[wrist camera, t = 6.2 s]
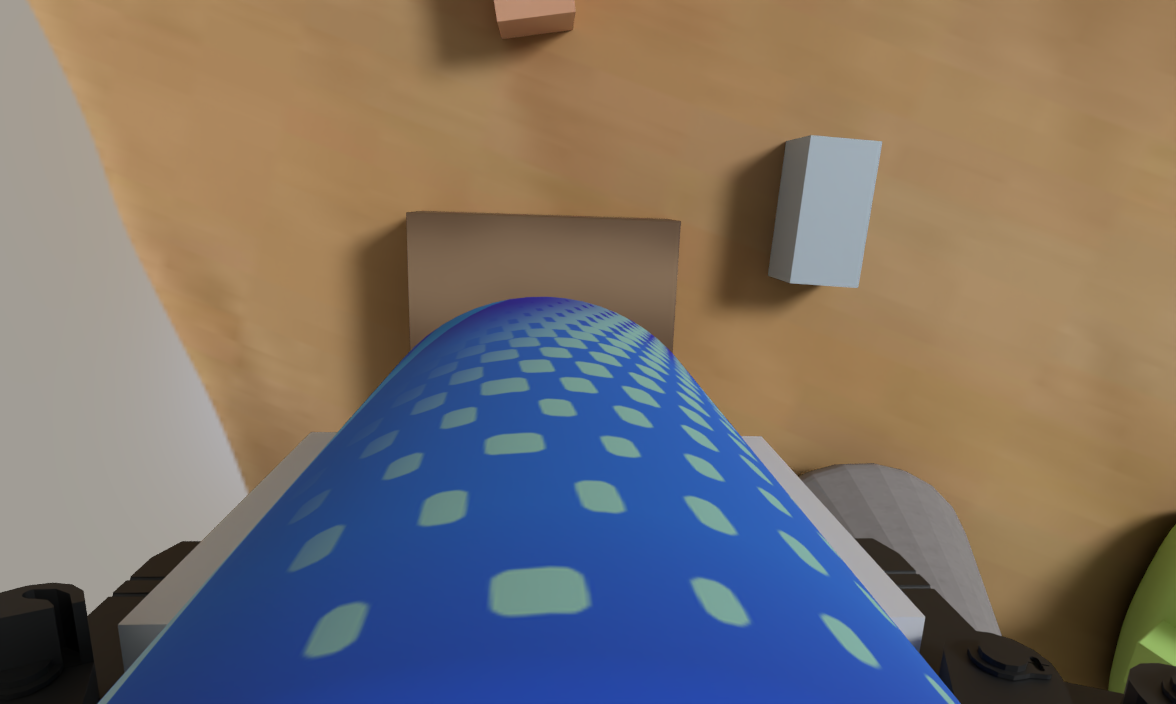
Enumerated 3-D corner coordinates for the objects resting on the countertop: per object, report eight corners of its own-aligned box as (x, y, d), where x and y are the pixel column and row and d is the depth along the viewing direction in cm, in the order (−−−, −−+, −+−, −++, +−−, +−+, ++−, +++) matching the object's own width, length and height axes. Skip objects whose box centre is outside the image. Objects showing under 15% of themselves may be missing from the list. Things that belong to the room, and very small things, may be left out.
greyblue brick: (784, 141, 30) (811, 135, 27) (849, 147, 30) (882, 141, 27) (766, 275, 31) (789, 283, 28) (828, 279, 31) (858, 287, 28)
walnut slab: (420, 210, 29) (406, 212, 26) (667, 218, 30) (680, 221, 27) (425, 446, 32) (413, 471, 29) (654, 448, 32) (664, 473, 29)
